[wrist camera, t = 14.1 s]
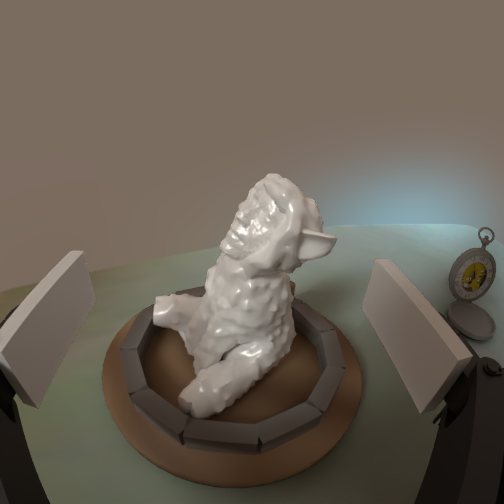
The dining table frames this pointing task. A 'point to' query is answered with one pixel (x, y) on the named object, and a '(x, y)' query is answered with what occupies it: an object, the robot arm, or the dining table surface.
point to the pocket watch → (472, 291)
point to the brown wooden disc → (243, 409)
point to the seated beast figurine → (246, 296)
